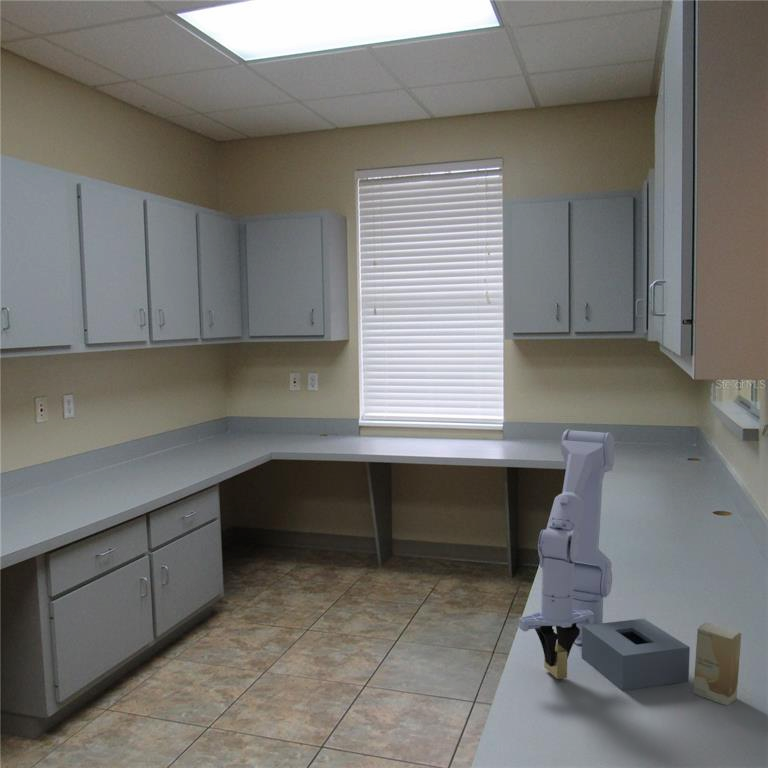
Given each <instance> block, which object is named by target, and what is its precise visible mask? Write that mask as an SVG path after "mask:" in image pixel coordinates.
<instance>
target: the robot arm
mask: <svg viewBox="0 0 768 768" xmlns="http://www.w3.org/2000/svg"><path fill="white" fill-rule="evenodd" d="M615 447H616V446H615V437H614V436H613V433H611V432H609V431H608V432H599V431H588V430H585V431H584V430H572V429H566V430H565V431H563V434H562V436H561V440H560V452H561V456H562V458H563V463H564V464H566V468H565V474H564V480H563V487H562V492H561V493H559V494H558V495H557V496H555V498H554V499H553V504H552V507H551V511H550V515H549V518H548V520H547V521H548V522H547V526H546V528H545V529H541V531H540V533H539V536H538V541H537V551H538V552H537V553H538V557H539V567H540V568H541V610H540V611H539V612H535V613H532V614H530V615H526V616H520V617H519V618H518V628H519V629H520V630H522V632H529V630H533V629H534V631H535V632H536V634H537V636H538V638H539V639H538V640H539V642H540V645H541V648H542V649H543V654H544V655H543V656H544V658H545V661H546V663H547V664H548V665H549V666H554V661H555V646H556V642H557V643H558V644H559V645H560V646H562V647H563V648H564V649H565V650H566V651H567V660H568V659H569V655H570V652H571V650H572V648H573V645H574V644H576V645H582V626H583V625H592V624H600V623H604V622H603V621H604V619H603V618H604V599H605V598H607V597H609V595H610V593H611V590H612V586H613V572H612V562H611V559H610V558H609V557H608V556H607V555H606V554H604V553H603V552H602V551H601V550H600V549H599V547H600V532H601V531H600V530H601V513H602V512H601V510H602V498H603V497H602V496H603V493H602V491H603V480H604V477H605V473H607V472H610V471H613V467H614V461H615ZM553 627H555V629H554V628H553ZM555 630H556V632H555Z"/></svg>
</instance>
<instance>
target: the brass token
mask: <svg viewBox="0 0 768 768" xmlns="http://www.w3.org/2000/svg"><path fill="white" fill-rule="evenodd" d="M543 663H544V665H543V666H544V668H545V669H546V670H547V671H548V672H549V673H550V674H551V675H552V676H553V677H554V678H556V679H557V680H561V679H567V677H568V659H567V651H566V650H565V649H564V648H563V647H562V646H560V645H559V644H558V641H556V646H555V661H554V666H549V665H548V664H547V663H546V661H545V657H544V661H543Z"/></svg>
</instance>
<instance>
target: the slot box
mask: <svg viewBox="0 0 768 768" xmlns="http://www.w3.org/2000/svg"><path fill="white" fill-rule="evenodd" d="M690 650H691V647H690V646H689V645H687V644H685V643H684V642H682V641H681V640H679V639H677V638H676V637H675V636H674V635H673V636H672V635H671V634H669V633H668V632H666V631H664V630H663V629H661V628H660V627H658V626H656V625H655V624H653V623H652V622H650V621H648V620H647V619H645V618H638V619H628V620H619V621H609V622H603V623H600V624H592V625H583V626H582V644H581V658H582V659H583V660H584V661H585V662H587V663H588V664H589V665H590V666H591V667H593V668H594V669H595V670H596V671H598V673H600V674H601V675H602V676H603V677H604V678H606V679H607V680H609V681H610V682H611V683H612V684H613V685H615V686H616V687H617V688H618V689H619V690H621V691H629V690H637V689H643V688H650V687H651V688H652V687H658V686H665V685H672V684H679V683H686V682H689V680H690V676H689V675H690V654H691V653H690V652H691V651H690Z"/></svg>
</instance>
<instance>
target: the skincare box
mask: <svg viewBox="0 0 768 768" xmlns="http://www.w3.org/2000/svg"><path fill="white" fill-rule="evenodd" d="M696 634H697V635H696V645H695V646H696V648H695V661H694V678H693V691H692V692H693V694H696V695H697V696H700V697H702V698H706V699H709V700H711V701H714V702H716V703H718V704H722V705H724V706H726V707H727V706H729V705H730V704H732V703H733V702H734V701H735V700H736V699H737V697H738V696H737V695H738V685H739V684H738V683H739V671H740V669H739V668H740V654H741V641H742V632H741V631H737V630H734V629H730V628H728V627H725V626H721V625H717V624H714V623H712V622H705V623H703V624H702V625H700V626H699V627H698V628H697V633H696Z"/></svg>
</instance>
